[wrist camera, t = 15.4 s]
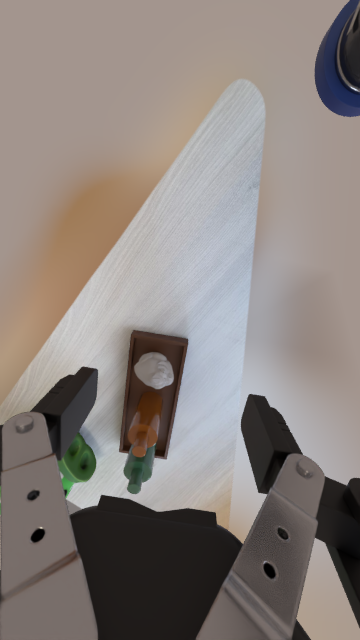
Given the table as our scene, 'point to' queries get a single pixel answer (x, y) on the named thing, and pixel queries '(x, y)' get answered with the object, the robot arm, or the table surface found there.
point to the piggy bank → (75, 464)
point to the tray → (135, 387)
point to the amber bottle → (145, 423)
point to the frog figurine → (154, 370)
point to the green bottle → (139, 468)
